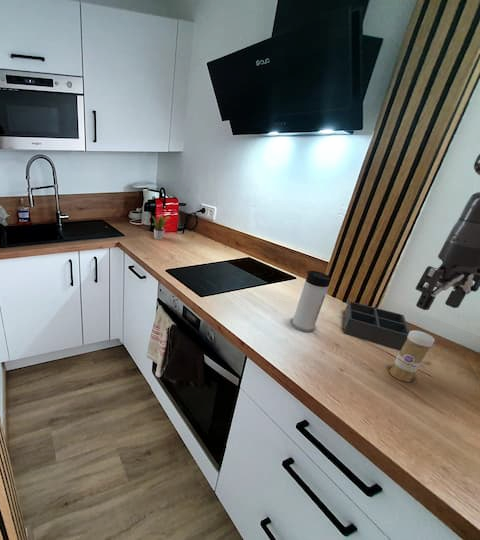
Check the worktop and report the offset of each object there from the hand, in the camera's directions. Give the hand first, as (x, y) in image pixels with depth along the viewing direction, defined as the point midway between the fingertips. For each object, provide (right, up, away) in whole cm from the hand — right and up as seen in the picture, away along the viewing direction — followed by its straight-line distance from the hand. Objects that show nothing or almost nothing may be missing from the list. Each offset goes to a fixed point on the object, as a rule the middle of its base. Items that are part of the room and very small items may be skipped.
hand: (436, 307), depth 68 cm
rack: (+9, -12, +28) cm, 31 cm away
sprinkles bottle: (0, -20, +9) cm, 22 cm away
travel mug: (-14, -11, +29) cm, 34 cm away
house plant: (-49, +29, +116) cm, 129 cm away
